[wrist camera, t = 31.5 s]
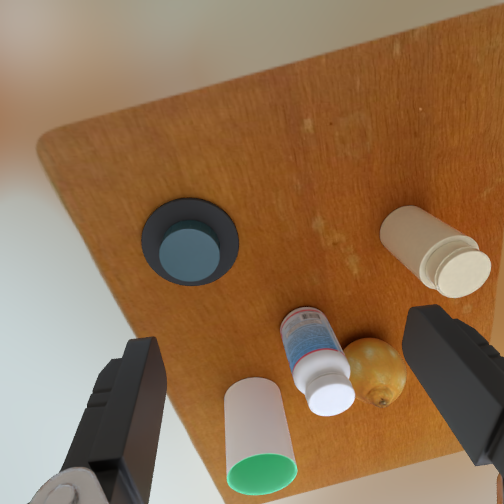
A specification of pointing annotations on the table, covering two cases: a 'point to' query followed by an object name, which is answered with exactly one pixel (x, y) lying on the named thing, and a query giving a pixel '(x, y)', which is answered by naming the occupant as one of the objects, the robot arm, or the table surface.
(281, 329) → the pill bottle
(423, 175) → the table surface
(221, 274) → the coaster
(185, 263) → the lid
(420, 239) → the jar
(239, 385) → the mug
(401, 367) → the fruit
